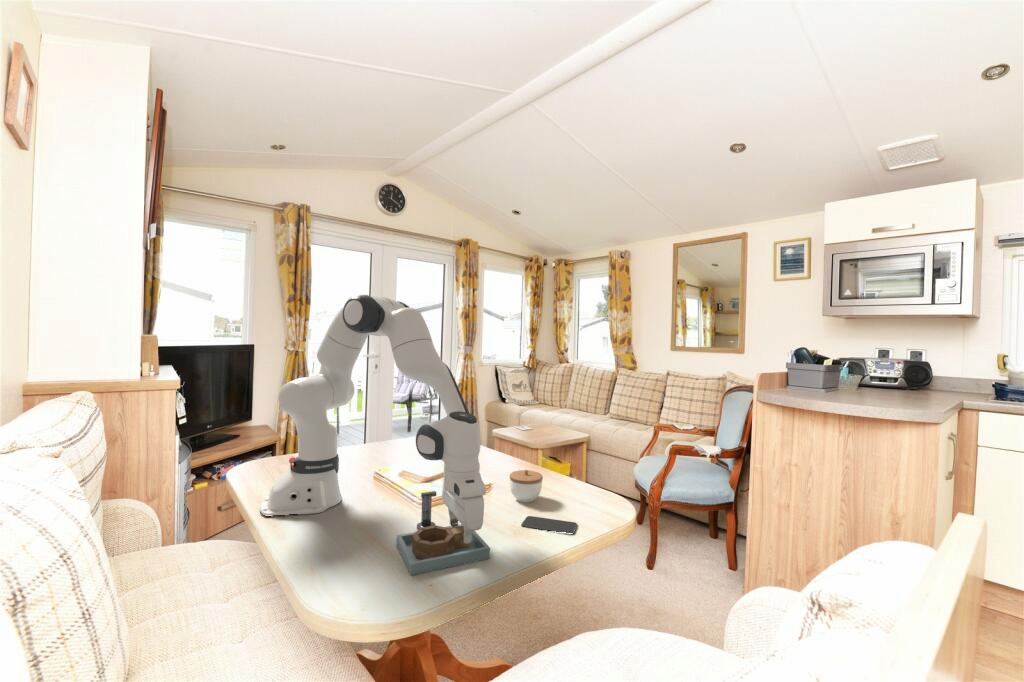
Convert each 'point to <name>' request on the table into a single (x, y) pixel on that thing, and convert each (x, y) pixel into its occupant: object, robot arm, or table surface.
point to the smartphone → (549, 524)
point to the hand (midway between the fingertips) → (460, 533)
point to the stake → (426, 510)
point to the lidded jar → (525, 485)
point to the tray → (459, 556)
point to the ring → (437, 541)
